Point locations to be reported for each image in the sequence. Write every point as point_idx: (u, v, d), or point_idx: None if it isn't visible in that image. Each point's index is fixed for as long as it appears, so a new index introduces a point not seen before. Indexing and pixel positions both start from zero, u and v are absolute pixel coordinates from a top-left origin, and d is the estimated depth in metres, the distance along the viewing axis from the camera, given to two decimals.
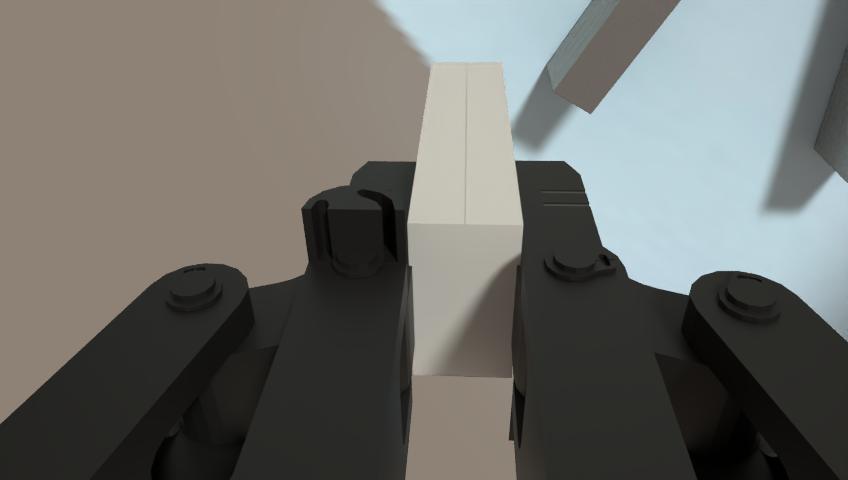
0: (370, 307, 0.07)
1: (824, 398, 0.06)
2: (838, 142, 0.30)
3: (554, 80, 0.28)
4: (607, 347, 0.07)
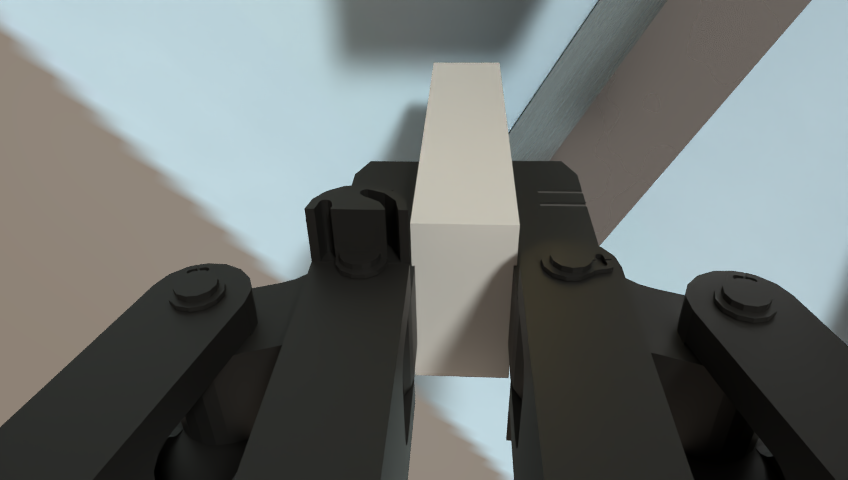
0: (373, 307, 0.07)
1: (820, 397, 0.06)
2: None
3: None
4: (604, 347, 0.07)
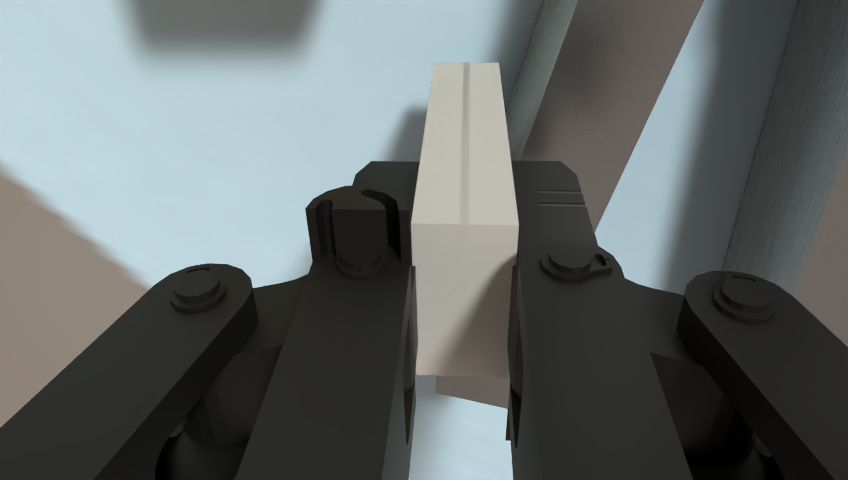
0: (374, 307, 0.07)
1: (819, 397, 0.06)
2: None
3: None
4: (603, 347, 0.07)
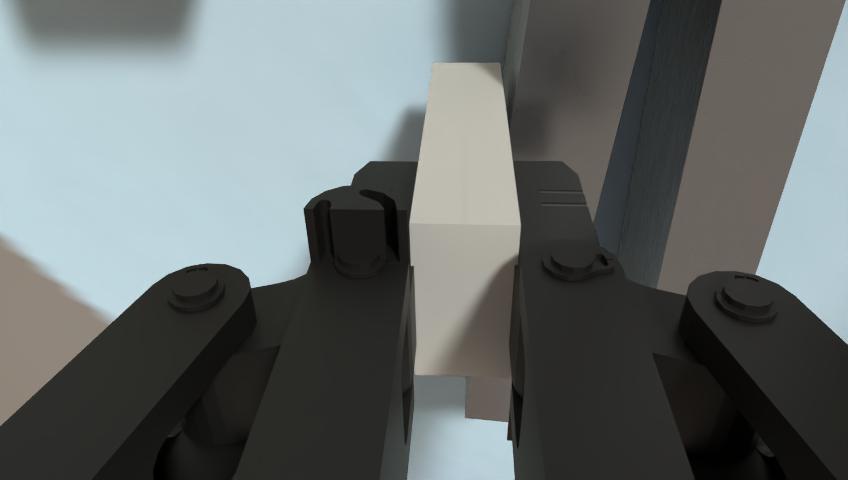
0: (372, 307, 0.07)
1: (821, 397, 0.06)
2: None
3: (466, 387, 0.17)
4: (605, 347, 0.06)
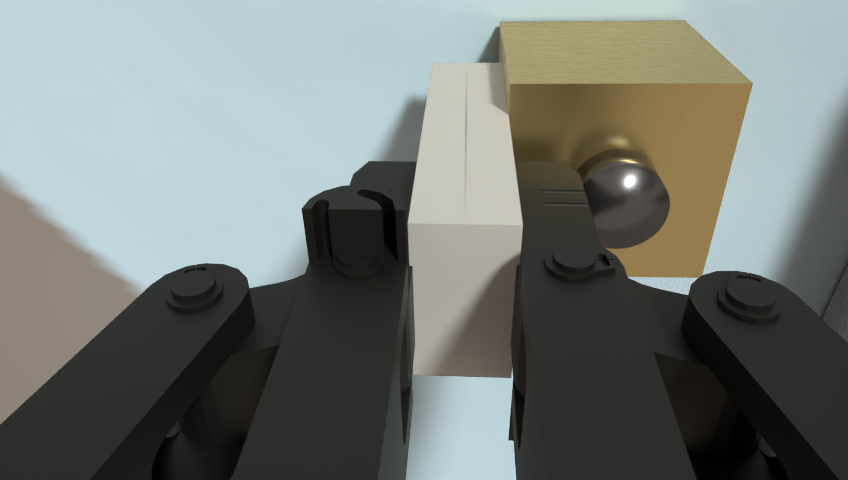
0: (370, 307, 0.07)
1: (823, 398, 0.06)
2: None
3: None
4: (607, 347, 0.06)
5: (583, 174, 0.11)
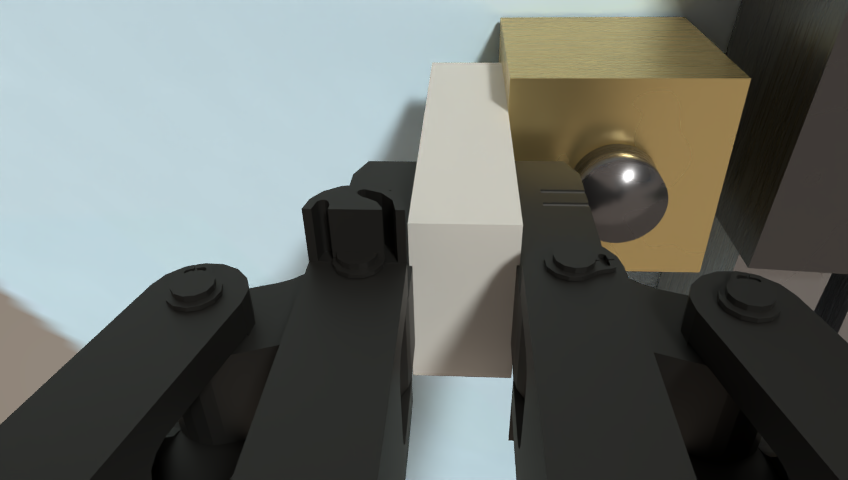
0: (371, 307, 0.07)
1: (824, 398, 0.06)
2: None
3: None
4: (607, 347, 0.06)
5: (582, 168, 0.11)
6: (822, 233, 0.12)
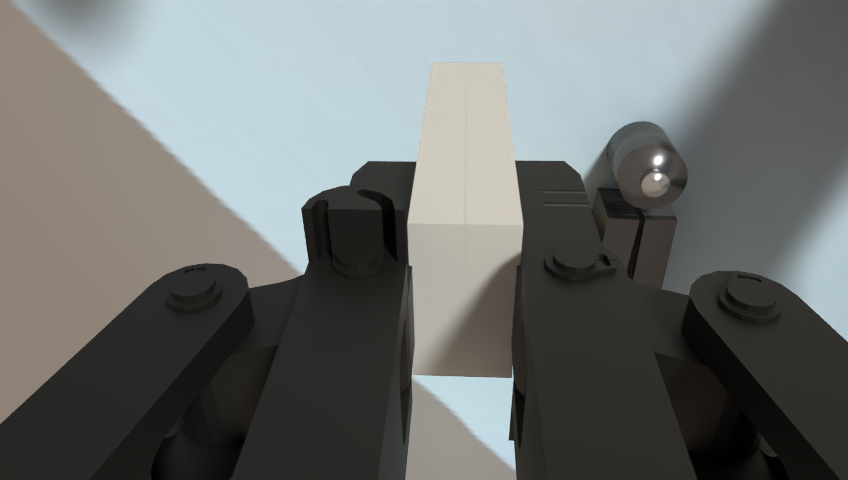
0: (370, 307, 0.07)
1: (824, 398, 0.06)
2: None
3: None
4: (607, 347, 0.06)
5: None
6: None
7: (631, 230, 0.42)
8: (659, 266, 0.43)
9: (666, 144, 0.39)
